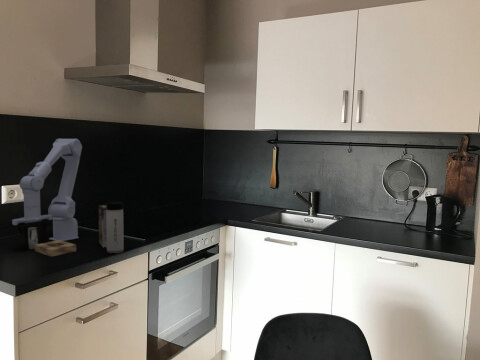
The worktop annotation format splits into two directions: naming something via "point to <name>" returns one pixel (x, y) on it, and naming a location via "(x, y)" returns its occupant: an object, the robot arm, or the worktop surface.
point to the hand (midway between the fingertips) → (33, 240)
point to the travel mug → (114, 226)
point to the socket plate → (55, 248)
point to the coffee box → (102, 225)
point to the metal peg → (33, 237)
